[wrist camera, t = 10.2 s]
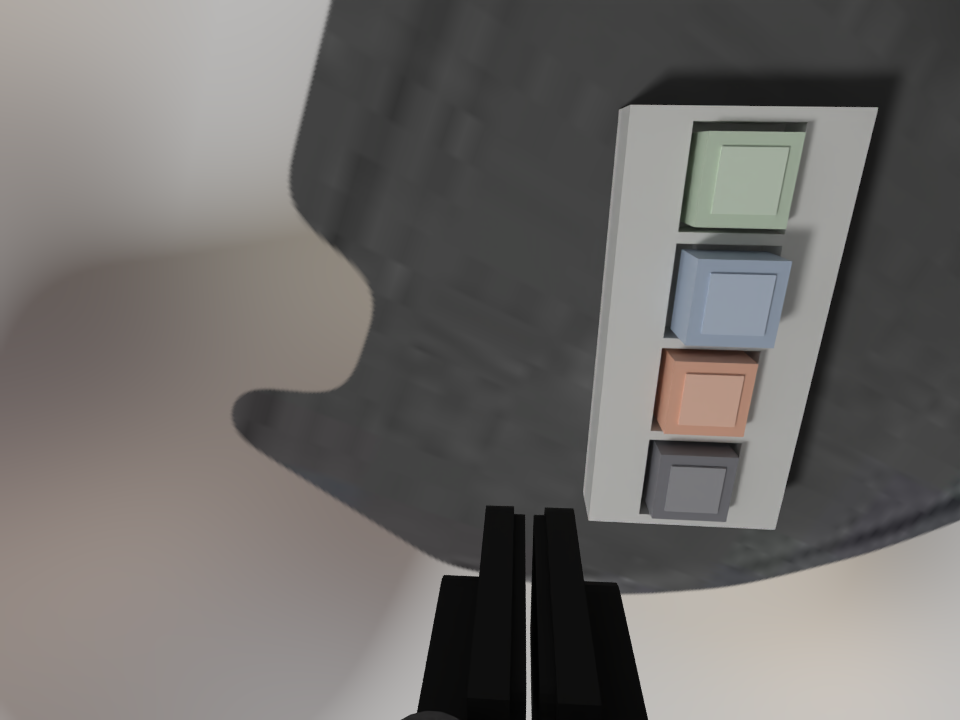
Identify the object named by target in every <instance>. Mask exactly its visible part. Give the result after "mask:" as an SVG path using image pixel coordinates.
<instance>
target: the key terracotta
mask: <svg viewBox="0 0 960 720" xmlns="http://www.w3.org/2000/svg"><path fill="white" fill-rule="evenodd" d="M757 369H758V363H757V362H755V361H754V360H753V359H752V358H751V357H750V356H748V355H747V354H746V353H745V352H744V351H739V350H709V349H678V348H662V352H661V359H660V366H659V373H658V381H657V388H656V395H655V402H654V409H653V414H654V416H655V418H656V419H657V421H658V423H659V425H660V427H661V429H662V431H663V433H664V434H679V435H703V436H728V437H744V432H745V427H746V422H747V418H748V413H749V408H750V403H751V398H752V393H753V388H754V384H755V379H756V374H757Z"/></svg>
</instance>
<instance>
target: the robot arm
mask: <svg viewBox="0 0 960 720" xmlns="http://www.w3.org/2000/svg"><path fill="white" fill-rule="evenodd" d="M525 597H526V584H525V515H522V514H514V506H486V512H485V522H484V532H483V542H482V552H481V562H480V572H479V577H474V576H451V575H444V576H443V578H442V581H441V587H440V592H439V597H438V602H437V608H436V613H435V618H434V624H433V629H432V635H431V640H430V646H429V651H428V656H427V661H426V667H425V672H424V678H423V683H422V688H421V694H420V699H419V705H418V710H417V713H415V714H411V715H409V716H407V717H405V718H404V719H402V720H526V598H525ZM530 636H531V637H530V638H531V639H530V640H531V643H530V645H531V705H532V720H648V717H647V713H646V708H645V704H644V699H643V695H642V690H641V686H640V681H639V676H638V672H637V667H636V663H635V658H634V653H633V650H632V644H631V640H630V635H629V631H628V626H627V622H626V617H625V613H624V608H623V604H622V599H621V594H620V590H619V587H618V585H617V583H612V582H589V581H584V578H583V571H582V564H581V557H580V550H579V543H578V536H577V529H576V522H575V515H574V510H573V509H571V508H545V511H544V515H534V522H533V556H532V589H531V624H530Z"/></svg>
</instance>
